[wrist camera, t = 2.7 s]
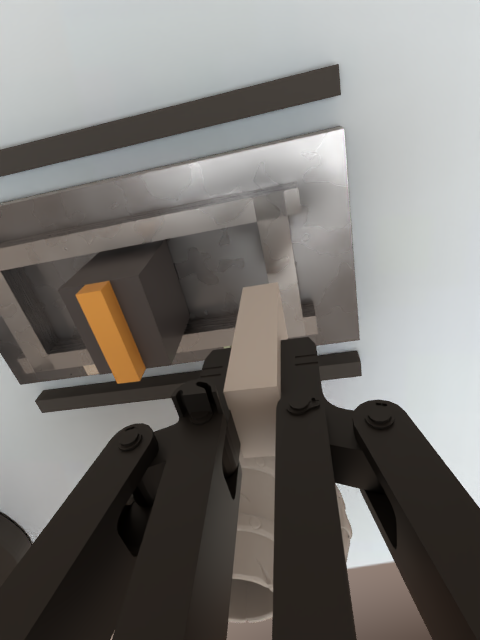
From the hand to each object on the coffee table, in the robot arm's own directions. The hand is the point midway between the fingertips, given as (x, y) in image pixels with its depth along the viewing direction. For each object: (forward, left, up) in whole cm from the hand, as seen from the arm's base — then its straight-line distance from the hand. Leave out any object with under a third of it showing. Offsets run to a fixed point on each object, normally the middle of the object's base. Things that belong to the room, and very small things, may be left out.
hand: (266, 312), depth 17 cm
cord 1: (-7, -9, -7) cm, 13 cm away
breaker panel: (-7, 0, -7) cm, 10 cm away
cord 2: (-7, +8, -7) cm, 13 cm away
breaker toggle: (-7, 0, -6) cm, 9 cm away
